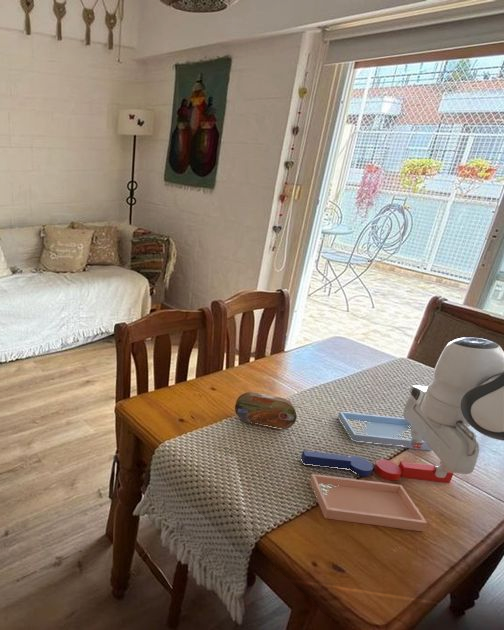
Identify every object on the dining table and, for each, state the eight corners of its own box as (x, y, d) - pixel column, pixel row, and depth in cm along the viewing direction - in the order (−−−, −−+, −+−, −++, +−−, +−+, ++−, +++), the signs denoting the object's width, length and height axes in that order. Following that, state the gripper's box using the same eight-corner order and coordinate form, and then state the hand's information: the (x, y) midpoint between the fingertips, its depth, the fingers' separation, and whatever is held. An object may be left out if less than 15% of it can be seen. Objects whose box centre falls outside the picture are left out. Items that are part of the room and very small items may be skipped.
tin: (232, 419, 119) (237, 393, 116) (233, 413, 122) (238, 387, 118) (293, 433, 114) (299, 406, 110) (292, 426, 116) (299, 399, 113)
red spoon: (440, 472, 101) (444, 462, 100) (453, 488, 97) (458, 478, 95) (370, 463, 103) (373, 454, 102) (379, 479, 99) (383, 469, 98)
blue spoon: (304, 469, 101) (307, 460, 100) (298, 455, 106) (300, 446, 105) (375, 478, 99) (378, 468, 98) (365, 463, 104) (368, 453, 102)
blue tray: (410, 426, 117) (412, 418, 116) (431, 450, 108) (434, 443, 107) (337, 418, 120) (339, 411, 119) (352, 442, 111) (354, 434, 110)
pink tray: (398, 493, 95) (401, 484, 94) (423, 531, 86) (427, 523, 85) (309, 481, 98) (311, 473, 97) (324, 518, 88) (327, 509, 87)
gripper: (498, 441, 83) (471, 497, 88) (436, 385, 101) (417, 433, 107) (461, 437, 84) (437, 492, 89) (407, 382, 102) (389, 430, 108)
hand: (426, 460), depth 98 cm, fingers open, 8 cm apart
